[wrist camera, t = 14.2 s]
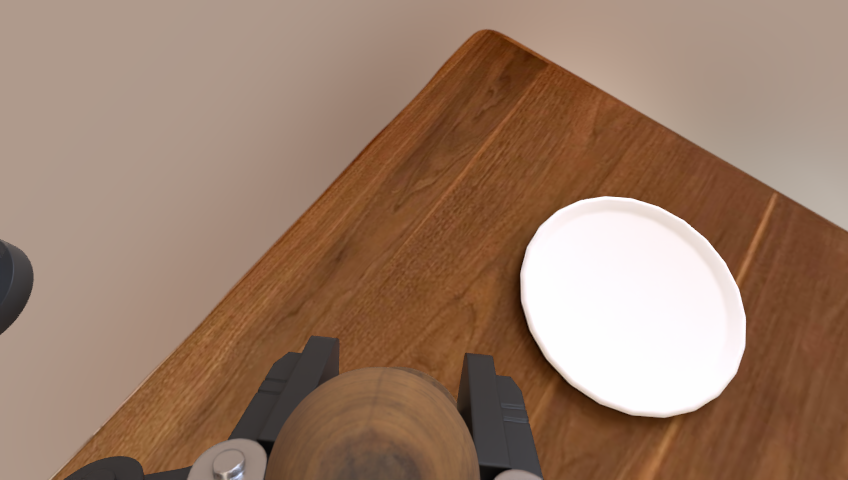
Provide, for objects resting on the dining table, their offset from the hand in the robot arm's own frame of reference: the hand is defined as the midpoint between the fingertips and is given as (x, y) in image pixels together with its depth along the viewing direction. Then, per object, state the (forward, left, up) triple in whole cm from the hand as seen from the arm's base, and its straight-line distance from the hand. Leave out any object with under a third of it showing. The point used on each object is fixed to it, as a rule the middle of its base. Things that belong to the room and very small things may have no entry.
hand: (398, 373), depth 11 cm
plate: (+20, +11, -25) cm, 34 cm away
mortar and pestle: (0, -2, -12) cm, 12 cm away
